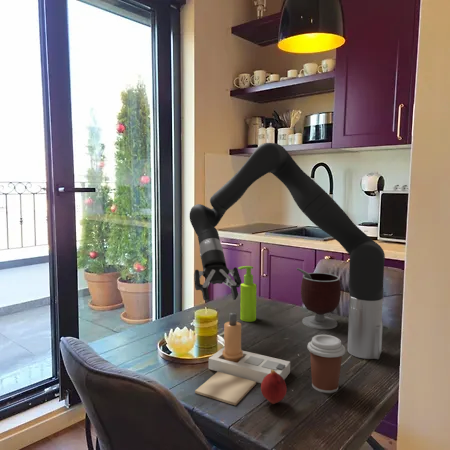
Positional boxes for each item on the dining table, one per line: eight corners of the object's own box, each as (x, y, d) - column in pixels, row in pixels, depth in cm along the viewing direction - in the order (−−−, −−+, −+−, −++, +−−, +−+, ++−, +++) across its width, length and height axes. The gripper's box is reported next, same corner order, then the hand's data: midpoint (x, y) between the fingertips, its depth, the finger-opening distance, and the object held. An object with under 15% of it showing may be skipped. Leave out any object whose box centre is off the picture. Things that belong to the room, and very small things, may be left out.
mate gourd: (336, 317, 147) (338, 265, 145) (342, 331, 133) (344, 274, 131) (295, 315, 149) (296, 264, 147) (296, 328, 135) (297, 272, 133)
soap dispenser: (235, 317, 146) (235, 265, 144) (252, 315, 149) (253, 264, 146) (240, 322, 141) (241, 268, 139) (258, 320, 143) (259, 267, 141)
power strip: (290, 372, 104) (290, 360, 103) (277, 387, 96) (278, 374, 96) (224, 356, 113) (224, 345, 113) (208, 369, 106) (208, 357, 105)
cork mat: (255, 384, 98) (255, 381, 98) (235, 405, 88) (235, 403, 88) (217, 373, 103) (217, 371, 103) (195, 392, 93) (195, 390, 93)
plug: (246, 364, 108) (246, 312, 107) (236, 373, 103) (237, 318, 102) (228, 360, 111) (228, 309, 109) (218, 368, 106) (218, 315, 104)
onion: (283, 396, 92) (284, 363, 91) (288, 410, 86) (289, 376, 86) (259, 396, 92) (259, 364, 91) (262, 410, 86) (262, 376, 85)
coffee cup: (339, 400, 91) (341, 350, 89) (301, 389, 95) (302, 342, 94) (347, 382, 99) (349, 337, 97) (312, 374, 103) (313, 330, 102)
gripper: (192, 249, 121) (200, 295, 112) (235, 247, 125) (247, 291, 116) (189, 262, 127) (196, 307, 117) (230, 260, 131) (241, 303, 121)
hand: (221, 299), depth 116 cm, fingers open, 8 cm apart
